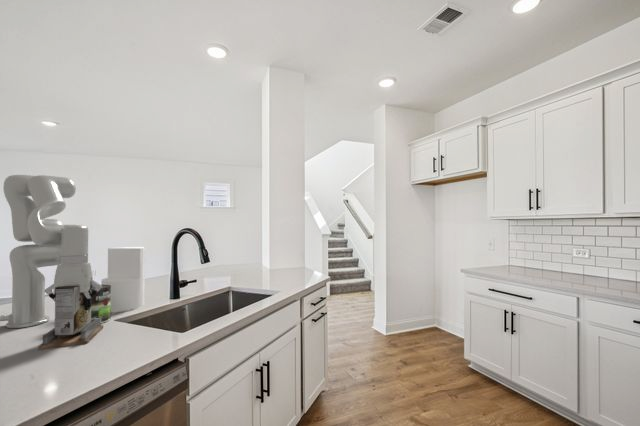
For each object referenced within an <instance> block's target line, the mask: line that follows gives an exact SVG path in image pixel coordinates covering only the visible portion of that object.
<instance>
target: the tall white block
mask: <svg viewBox="0 0 640 426" xmlns="http://www.w3.org/2000/svg"><path fill="white" fill-rule="evenodd" d="M145 249H146V248H145V247H144V246H126V247H125V246H124V247H121V246H120V247H119V246H118V247H108V248H107V277H105V278H103V279H101V284H100V285H111V306H110V313H120V312H121V311H122V312H128V311H127V310H129V311H132V309H133V310H136V308H137V309H139V307H140V308H142V307H144V306H145V259H146V257H145V252H146V251H145ZM143 305H144V306H143ZM141 306H142V307H141Z"/></svg>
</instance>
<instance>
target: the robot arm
mask: <svg viewBox="0 0 640 426" xmlns="http://www.w3.org/2000/svg"><path fill="white" fill-rule="evenodd" d="M76 190H77V189H76V185H75V183H74V181H73V180H72V179H70V178H68V177H65V176H63V177H62V176H55V175H45V174H43V175H42V174H40V175H30V174H29V175H27V174H12V175H8V176H7V177H6V178H5V179H4V181H3V194H4V197H5V199H6V202H7V203H8V206H9V207H10V213H11V215H10V216H11V224H12V225H11V226H12V234H13V237H14V240H16V241H18V242H23V243H31V242H33V244H23V245H18V246H16V247H14V248H13V249H11V251H10V252H9V257H8V258H9V263H10V267H11V275H12V278H11V280H12V283H11V284H12V287H11V288H12V289H11V290H12V291H11V292H12V296H11V314H3V315H0V322H4V321H5V322H7V323H6V324H5V327H6V329H20V328H28V327H33V326H37V325H40V324H44V323H46V322H49V321H50V316H49V315H45V307H46V306H45V305H46V304H45V303H46V301H45V298H46V297H45V296H46V295H45V294H47V296H48V297H49V298H50V299H52V301H53V302H55V287H62V286H80V293H84V295H85V296H86V299H85V311H87V310H89V309H90V307H92V297H93V296H94V295H95V294H96V293H97V292H98V291H99V290H100V289H101V288H102V285H101V284H100V283H98V282H97V281H95V280H93V278H94V277H93V271H92V265H91V262H89V227H88V226H86V225H82V224H81V225H80V224H64V223H63V222H61V220H58V219H56V218H49V217H53V216H56V215H58V214H59V215H60V214H61V213H62V212H63V211H65V209H66V205H67V203H66V201H65V200H64V199H71V198H72V197H74V196H75V194H76V192H77V191H76ZM30 197H31V198H32V199H31V198H30ZM55 266H56V269H55V274H54V279H53V281H54V282H53V284H51V285H49V286H48V287H47V288H46V277H45V275H44V274H43V273H42V272H41V271H40V270H39V269H38V268H44V267H55ZM93 286H94V287H95V290H94V291H93V292H91V291H90V289H92V287H93Z"/></svg>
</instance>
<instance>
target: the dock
mask: <svg viewBox="0 0 640 426" xmlns="http://www.w3.org/2000/svg"><path fill="white" fill-rule="evenodd" d="M103 328H104V325H103V324H101V318H92V319H91V324H89V325H88V326H87V327H86V328H85V329H83V330H81V331H79V332H77V333H76V334H73V335H55V327H54V328H52V329H51V330H49V331H47V332H45V334H43V335H42V343H41V344H39V345H38V347H37V348H38V351H39V350H45V349H53V348H62V347H68V346H69V347H70V346H71V347H72V346H77V345H86V344H88V343H90V342H91V341H92V340H93V339H94V338H95V337H96V336H97V335H98V334H99V333H100V332H101V331H102V330H103Z"/></svg>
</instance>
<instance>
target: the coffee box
mask: <svg viewBox="0 0 640 426" xmlns="http://www.w3.org/2000/svg"><path fill="white" fill-rule="evenodd" d="M90 291H91V289H90ZM85 299H86V296H85V295H84V293H80V286H62V287H55V301H54V328H55V335H73V334H76V333H77V332H79V331H81V330H83V329H85V328H86V327H87V326H88V325H89V324H91V307H90V309H89V310H87V311H85Z"/></svg>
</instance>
